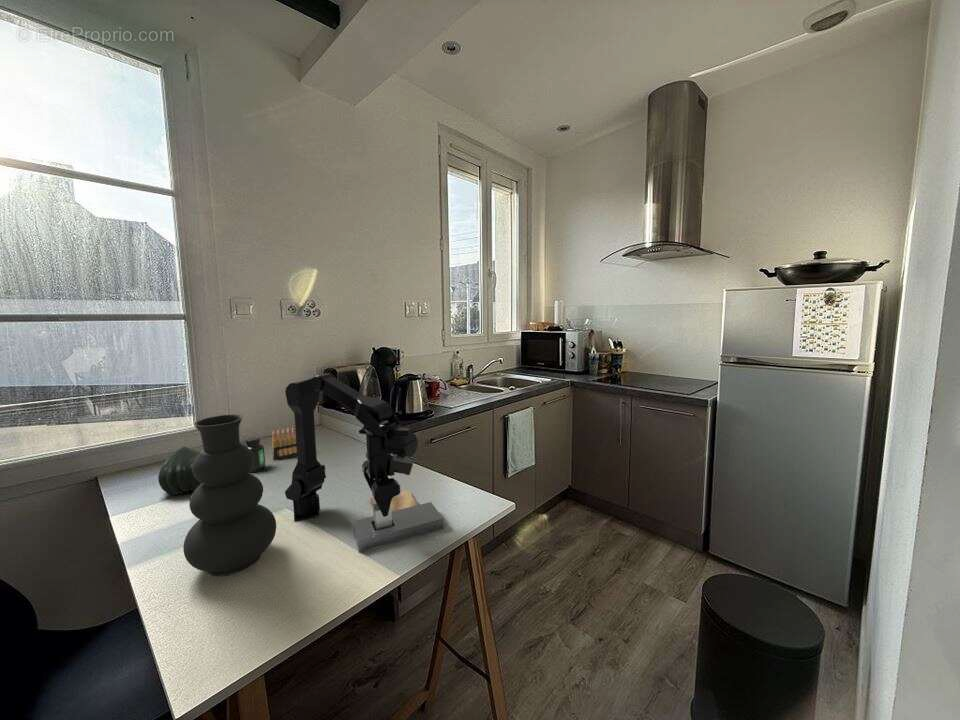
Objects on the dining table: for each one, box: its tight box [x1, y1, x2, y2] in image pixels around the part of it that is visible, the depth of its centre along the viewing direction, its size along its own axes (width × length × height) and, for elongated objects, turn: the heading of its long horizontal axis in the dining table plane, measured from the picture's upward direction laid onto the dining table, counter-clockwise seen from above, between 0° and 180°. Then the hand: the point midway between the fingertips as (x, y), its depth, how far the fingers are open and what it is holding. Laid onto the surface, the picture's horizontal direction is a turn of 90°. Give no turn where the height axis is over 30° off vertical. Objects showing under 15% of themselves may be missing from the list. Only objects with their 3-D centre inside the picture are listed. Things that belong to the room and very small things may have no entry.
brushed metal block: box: [372, 504, 392, 531], centre depth 102 cm, size 4×4×8 cm
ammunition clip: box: [271, 426, 297, 461], centre depth 157 cm, size 11×2×12 cm, turn 124°
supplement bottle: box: [244, 436, 267, 474], centre depth 145 cm, size 7×7×12 cm
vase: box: [182, 413, 277, 577], centre depth 90 cm, size 18×18×35 cm
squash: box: [157, 445, 201, 495], centre depth 130 cm, size 14×15×15 cm
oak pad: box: [369, 489, 419, 511], centre depth 116 cm, size 12×12×1 cm
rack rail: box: [352, 501, 444, 553], centre depth 104 cm, size 22×10×3 cm, turn 116°
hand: (381, 507), depth 101 cm, fingers open, 9 cm apart
